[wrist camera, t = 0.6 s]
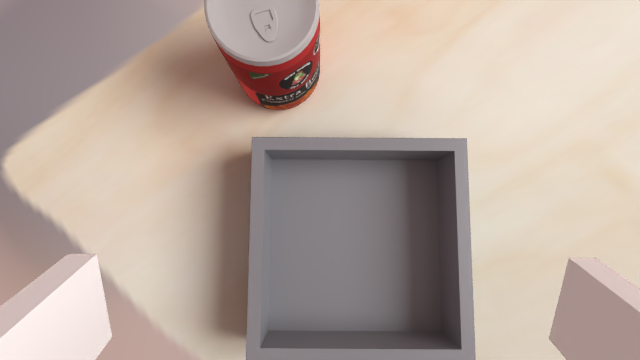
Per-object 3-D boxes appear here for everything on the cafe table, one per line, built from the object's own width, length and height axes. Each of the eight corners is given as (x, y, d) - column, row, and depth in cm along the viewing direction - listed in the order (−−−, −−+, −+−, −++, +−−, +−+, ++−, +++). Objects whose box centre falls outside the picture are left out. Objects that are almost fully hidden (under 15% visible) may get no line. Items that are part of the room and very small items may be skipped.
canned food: (268, 128, 34) (244, 84, 24) (223, 60, 35) (179, -14, 24) (336, 84, 35) (343, 21, 24) (290, 18, 36) (277, -73, 25)
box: (451, 342, 32) (475, 363, 27) (257, 340, 32) (246, 362, 27) (445, 150, 34) (466, 138, 29) (262, 149, 34) (252, 137, 29)
